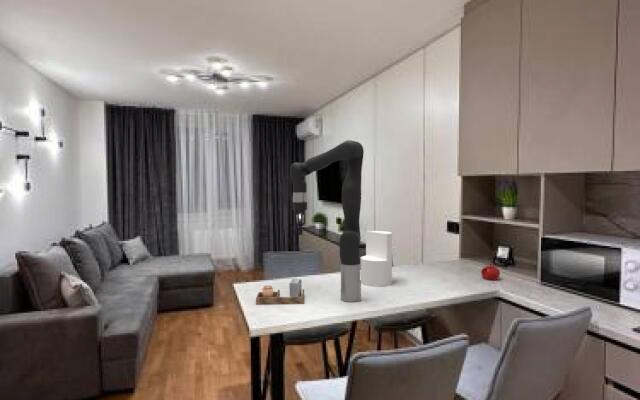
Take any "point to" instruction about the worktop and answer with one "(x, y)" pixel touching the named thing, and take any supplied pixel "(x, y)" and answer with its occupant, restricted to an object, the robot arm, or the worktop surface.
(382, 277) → the white stepped solid
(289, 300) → the caddy
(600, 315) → the worktop surface
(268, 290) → the terracotta jar
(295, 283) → the medicine box
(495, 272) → the pomegranate
